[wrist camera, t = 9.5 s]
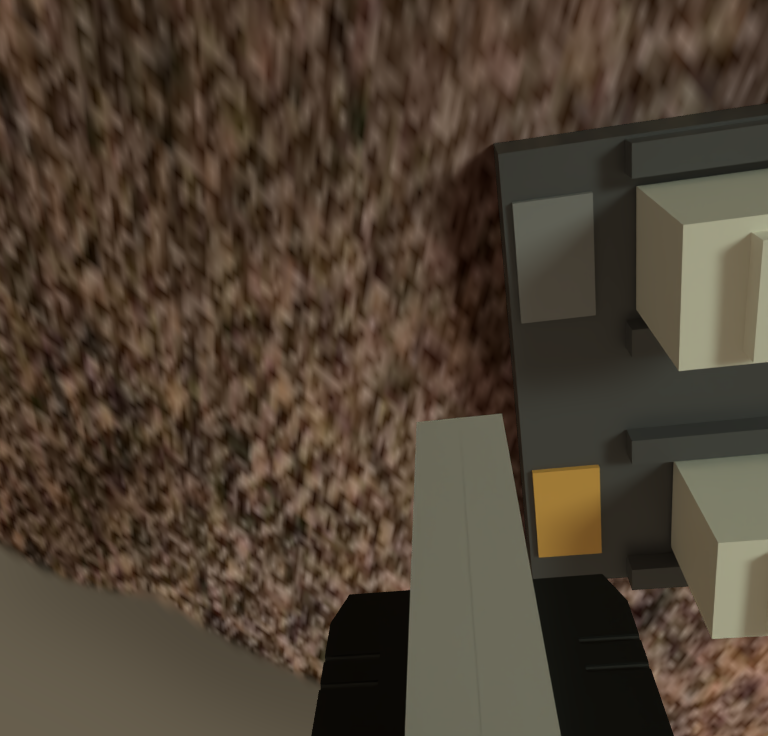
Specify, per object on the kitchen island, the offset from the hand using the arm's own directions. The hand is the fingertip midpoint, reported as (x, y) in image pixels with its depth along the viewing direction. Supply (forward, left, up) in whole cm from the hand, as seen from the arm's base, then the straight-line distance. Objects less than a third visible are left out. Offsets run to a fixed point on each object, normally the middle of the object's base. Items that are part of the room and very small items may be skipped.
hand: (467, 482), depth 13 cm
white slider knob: (0, +8, -11) cm, 14 cm away
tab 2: (+10, +9, -11) cm, 17 cm away
